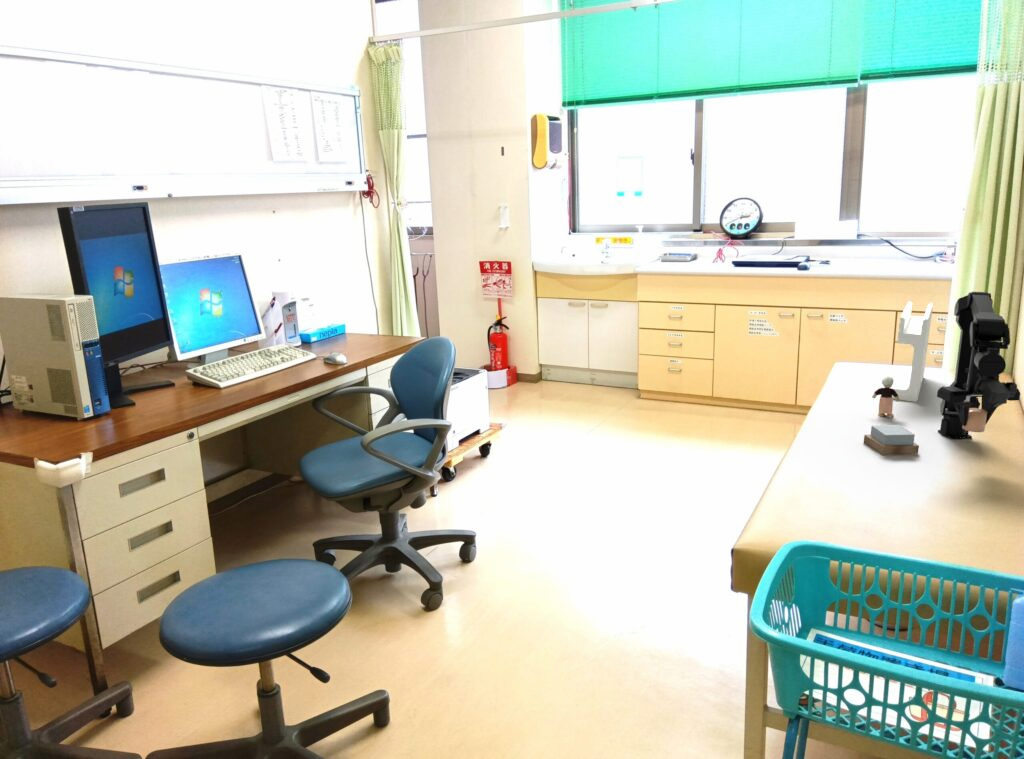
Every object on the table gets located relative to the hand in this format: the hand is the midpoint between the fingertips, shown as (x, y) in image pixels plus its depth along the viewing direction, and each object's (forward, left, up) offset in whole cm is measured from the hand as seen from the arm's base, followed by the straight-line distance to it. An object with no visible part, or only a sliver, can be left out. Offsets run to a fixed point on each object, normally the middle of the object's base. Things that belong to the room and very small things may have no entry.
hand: (973, 425), depth 196 cm
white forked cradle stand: (-27, -71, -11) cm, 77 cm away
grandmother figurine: (-1, -42, -11) cm, 43 cm away
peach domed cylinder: (0, 0, -1) cm, 1 cm away
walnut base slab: (+13, -14, -12) cm, 22 cm away
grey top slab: (+13, -14, -8) cm, 21 cm away
